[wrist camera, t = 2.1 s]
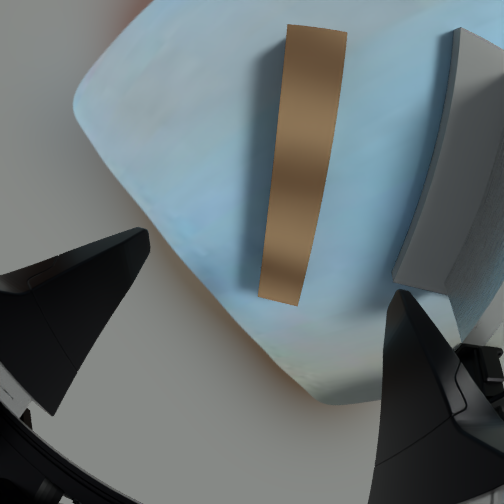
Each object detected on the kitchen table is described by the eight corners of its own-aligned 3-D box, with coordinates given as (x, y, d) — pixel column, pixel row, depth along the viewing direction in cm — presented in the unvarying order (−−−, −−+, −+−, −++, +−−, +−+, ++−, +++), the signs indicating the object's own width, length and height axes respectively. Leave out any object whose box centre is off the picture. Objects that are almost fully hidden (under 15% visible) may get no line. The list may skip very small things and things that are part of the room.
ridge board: (487, 296, 18) (491, 305, 17) (391, 272, 20) (393, 282, 19) (560, 96, 8) (569, 98, 7) (453, 29, 10) (460, 27, 9)
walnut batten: (303, 281, 23) (297, 306, 21) (267, 272, 24) (257, 296, 21) (346, 40, 13) (347, 32, 10) (296, 33, 13) (287, 24, 11)
